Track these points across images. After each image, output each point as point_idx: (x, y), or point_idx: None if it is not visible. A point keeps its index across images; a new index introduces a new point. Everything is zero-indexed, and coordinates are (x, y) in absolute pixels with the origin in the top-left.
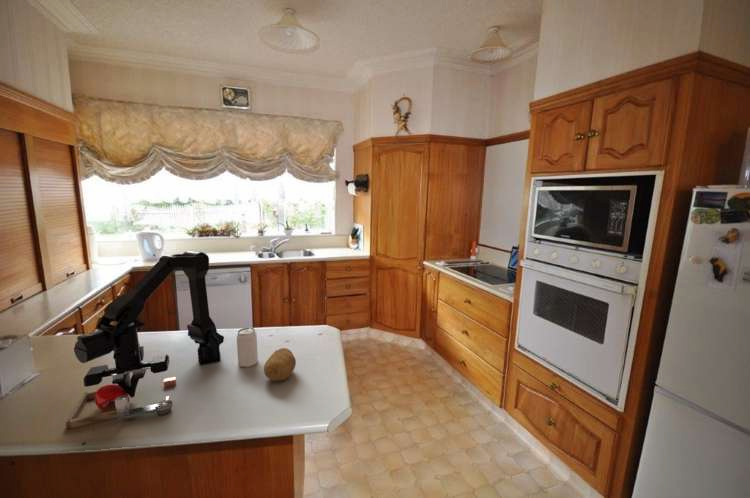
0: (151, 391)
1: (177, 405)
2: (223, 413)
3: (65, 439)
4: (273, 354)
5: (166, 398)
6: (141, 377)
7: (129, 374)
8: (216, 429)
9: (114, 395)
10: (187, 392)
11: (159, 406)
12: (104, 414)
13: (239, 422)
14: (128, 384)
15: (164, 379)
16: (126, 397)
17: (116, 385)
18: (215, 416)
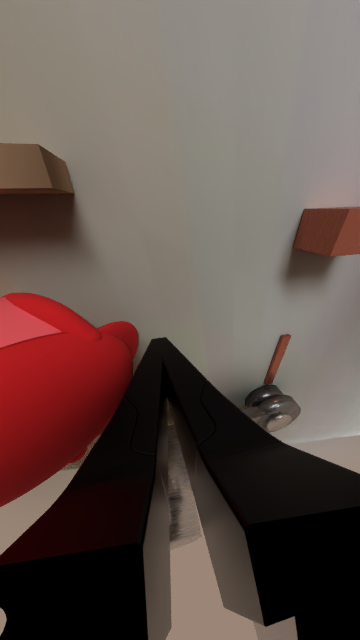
0: (229, 264)
1: (295, 378)
2: (353, 408)
3: None
4: None
5: (280, 348)
6: (306, 568)
7: (149, 535)
8: (322, 434)
9: (85, 450)
10: (347, 321)
11: (265, 424)
12: (93, 442)
13: (354, 424)
14: (166, 478)
15: (347, 220)
16: (199, 537)
17: (23, 447)
18: (338, 413)
